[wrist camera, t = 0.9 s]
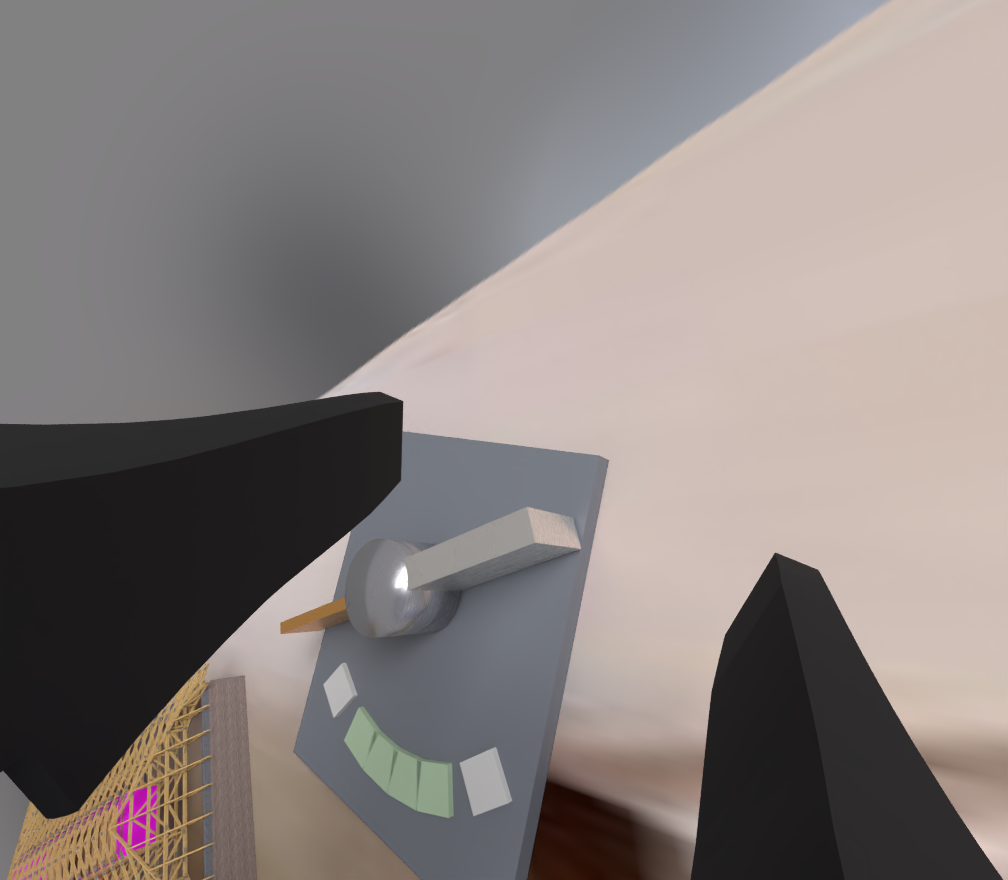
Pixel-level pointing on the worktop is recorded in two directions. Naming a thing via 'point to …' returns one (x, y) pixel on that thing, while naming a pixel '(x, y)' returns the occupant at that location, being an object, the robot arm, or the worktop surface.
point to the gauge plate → (457, 668)
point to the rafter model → (159, 801)
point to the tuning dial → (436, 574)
